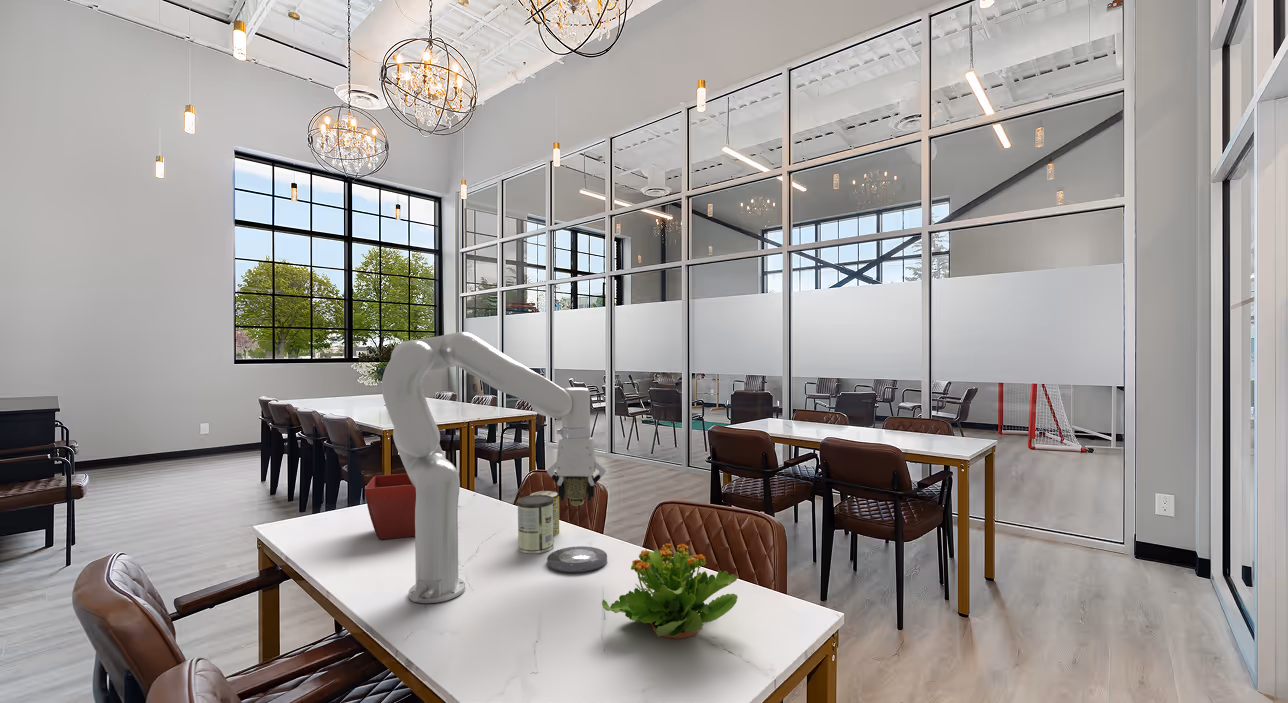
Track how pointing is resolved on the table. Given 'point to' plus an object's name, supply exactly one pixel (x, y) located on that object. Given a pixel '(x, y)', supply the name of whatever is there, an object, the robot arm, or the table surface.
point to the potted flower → (674, 593)
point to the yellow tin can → (555, 508)
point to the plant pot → (391, 505)
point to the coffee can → (535, 524)
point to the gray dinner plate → (577, 560)
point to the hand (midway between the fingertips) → (576, 498)
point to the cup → (576, 489)
